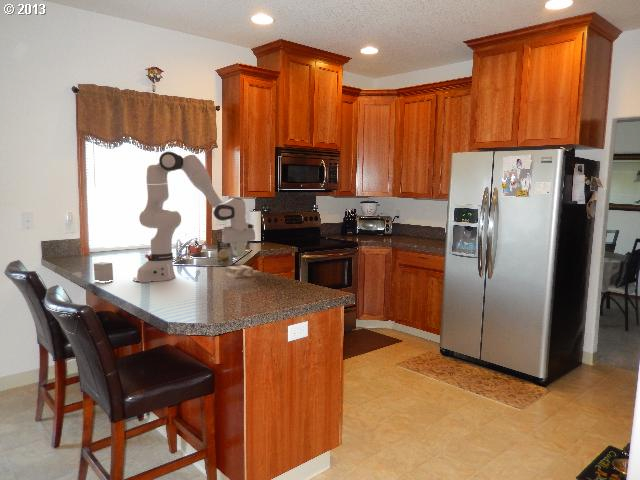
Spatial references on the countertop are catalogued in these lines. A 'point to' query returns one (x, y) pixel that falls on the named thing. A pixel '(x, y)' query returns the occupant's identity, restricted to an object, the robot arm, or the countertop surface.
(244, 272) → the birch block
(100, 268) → the small box
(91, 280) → the countertop surface
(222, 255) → the coffee box
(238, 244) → the green block
